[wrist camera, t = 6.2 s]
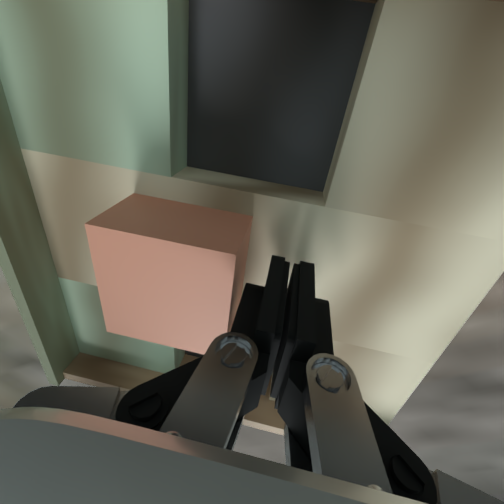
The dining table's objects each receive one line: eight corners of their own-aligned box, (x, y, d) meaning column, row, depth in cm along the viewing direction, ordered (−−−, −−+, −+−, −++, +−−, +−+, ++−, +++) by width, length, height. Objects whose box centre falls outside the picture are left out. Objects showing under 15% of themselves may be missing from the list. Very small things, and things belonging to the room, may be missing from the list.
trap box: (628, 11, 8) (858, -41, 5) (374, 402, 19) (389, 472, 15) (-4, -69, 10) (-172, -150, 6) (92, 333, 20) (49, 383, 17)
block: (253, 216, 11) (236, 254, 9) (239, 308, 14) (223, 359, 11) (133, 193, 12) (84, 223, 9) (143, 287, 14) (106, 331, 12)
